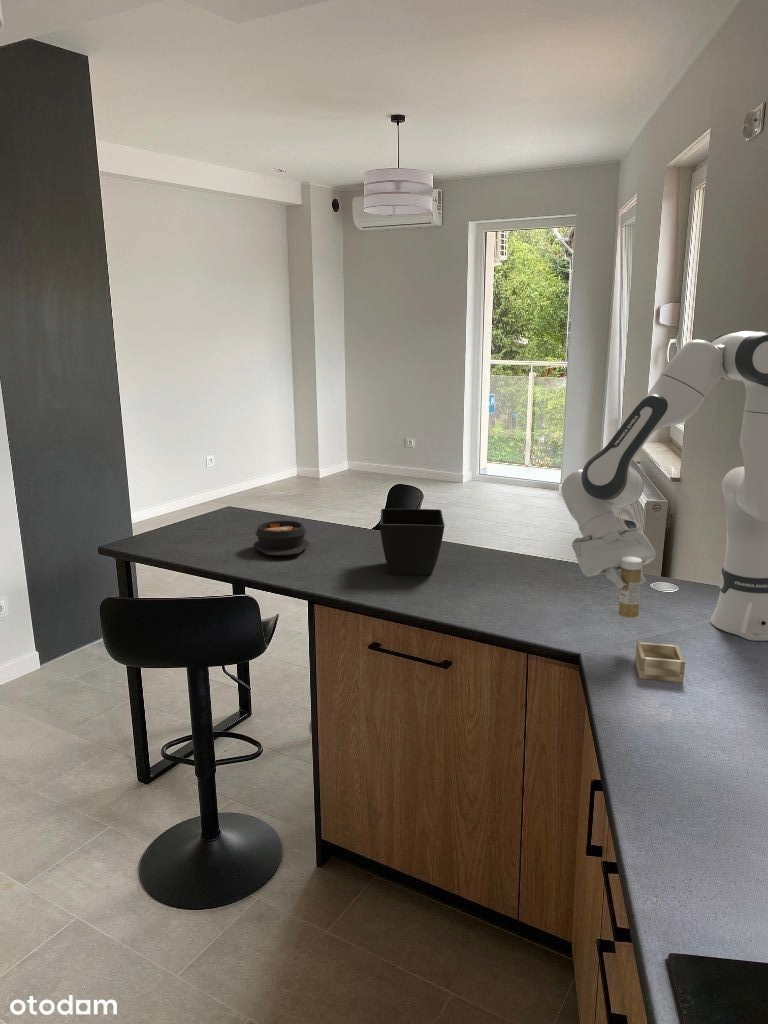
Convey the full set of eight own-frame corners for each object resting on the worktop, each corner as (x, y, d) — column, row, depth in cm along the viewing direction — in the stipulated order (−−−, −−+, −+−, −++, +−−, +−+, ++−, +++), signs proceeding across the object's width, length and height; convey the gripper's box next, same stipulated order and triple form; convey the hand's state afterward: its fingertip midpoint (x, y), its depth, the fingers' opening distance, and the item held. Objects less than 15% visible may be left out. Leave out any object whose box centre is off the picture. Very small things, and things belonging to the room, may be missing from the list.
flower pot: (443, 579, 214) (444, 524, 210) (379, 578, 215) (379, 523, 211) (440, 560, 233) (441, 508, 229) (381, 559, 233) (381, 508, 229)
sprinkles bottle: (615, 612, 168) (617, 556, 165) (634, 610, 169) (637, 555, 166) (623, 619, 164) (626, 562, 161) (642, 618, 164) (646, 561, 161)
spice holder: (676, 664, 159) (678, 645, 158) (683, 682, 151) (685, 662, 150) (634, 660, 161) (636, 641, 159) (639, 678, 152) (641, 658, 151)
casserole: (252, 541, 254) (251, 518, 252) (305, 538, 257) (305, 515, 255) (254, 562, 230) (253, 537, 228) (313, 559, 234) (312, 534, 232)
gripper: (576, 532, 163) (605, 586, 157) (642, 520, 172) (672, 570, 166) (561, 546, 168) (590, 599, 162) (627, 534, 177) (655, 583, 171)
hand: (632, 585), depth 164 cm, fingers closed on sprinkles bottle, 4 cm apart
